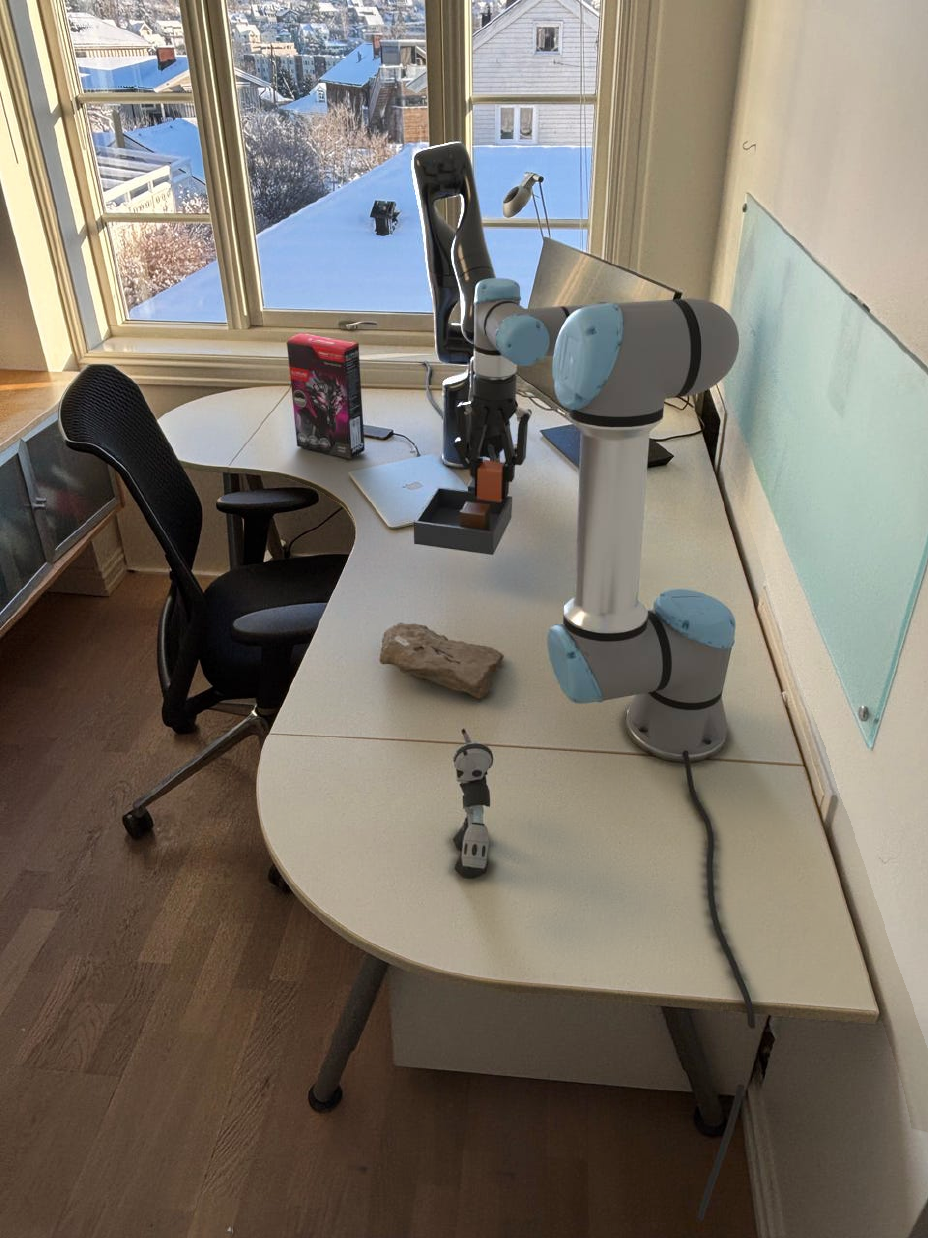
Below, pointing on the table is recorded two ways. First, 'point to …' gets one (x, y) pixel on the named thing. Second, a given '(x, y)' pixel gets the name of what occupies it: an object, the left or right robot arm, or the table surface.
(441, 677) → the stone
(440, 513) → the tote
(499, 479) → the terracotta block
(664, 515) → the table surface
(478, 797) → the robot
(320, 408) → the graphics card box
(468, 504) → the walnut block
